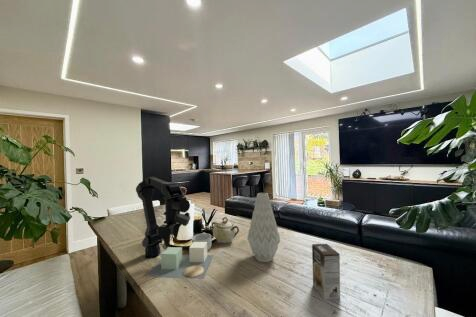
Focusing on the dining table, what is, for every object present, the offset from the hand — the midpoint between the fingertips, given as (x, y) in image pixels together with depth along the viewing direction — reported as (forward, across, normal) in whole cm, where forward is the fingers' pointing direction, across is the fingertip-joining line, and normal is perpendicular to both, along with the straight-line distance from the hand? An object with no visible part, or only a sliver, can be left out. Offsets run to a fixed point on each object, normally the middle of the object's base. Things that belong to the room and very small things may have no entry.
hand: (172, 241), depth 96 cm
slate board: (+12, 0, -5) cm, 13 cm away
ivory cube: (+11, +7, -11) cm, 17 cm away
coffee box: (+12, -16, -66) cm, 69 cm away
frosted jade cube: (+11, 0, 0) cm, 11 cm away
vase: (+12, +10, -44) cm, 47 cm away
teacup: (+12, +19, -10) cm, 24 cm away
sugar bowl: (+12, +31, -21) cm, 39 cm away
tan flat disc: (+11, -5, -12) cm, 17 cm away
